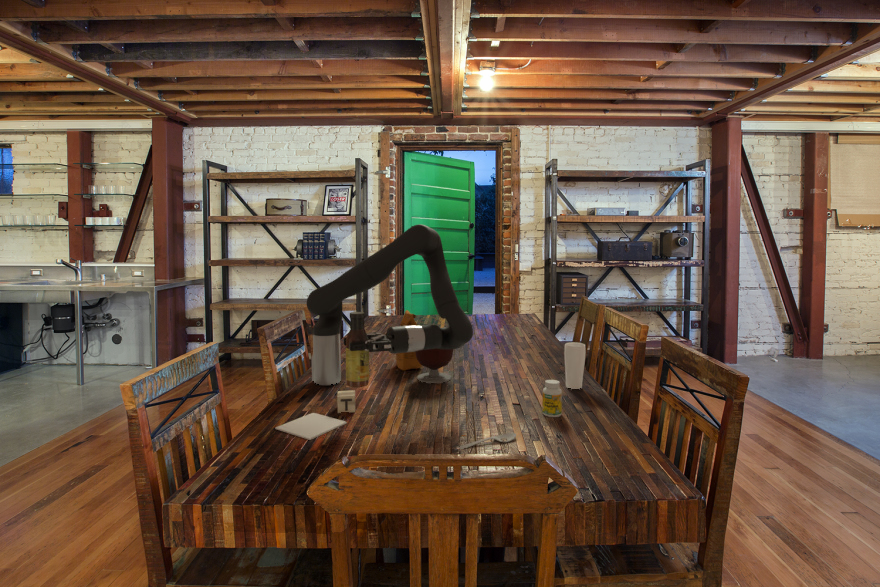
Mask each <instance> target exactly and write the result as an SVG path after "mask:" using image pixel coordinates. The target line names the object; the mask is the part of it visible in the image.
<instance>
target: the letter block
mask: <svg viewBox="0 0 880 587" xmlns="http://www.w3.org/2000/svg"><path fill="white" fill-rule="evenodd" d="M336 398H337V399H336V400H337V414H342V413H341V412H349V413H356V390H355V389H354V390H353V389H352V390H339V391H337V397H336Z"/></svg>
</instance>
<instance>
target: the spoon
mask: <svg viewBox="0 0 880 587" xmlns="http://www.w3.org/2000/svg"><path fill="white" fill-rule="evenodd" d="M516 437H517V433H516V432H507V433H503V434H497V435H493V436H490V437H486V438H483V439H480V440H476V441H473V442H470V443H465V444H462V445H459V446H460V447H458V446H456V447H457V448H460V449H462V450H465V449H464V448H466V449H467V448H468V449H469V448H470V447H472V446H475V445H477V444H481V443H483V442H487V441H489V440H495V441H498V442H500V443H509V442H511V441H513V440H515V439H516ZM502 439H506V440H505V441H504V440H502Z"/></svg>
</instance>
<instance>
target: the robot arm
mask: <svg viewBox="0 0 880 587" xmlns="http://www.w3.org/2000/svg"><path fill="white" fill-rule="evenodd" d="M442 242H443V241H442V238H441V236H440V234H439V233H438V232H437V231H436V230H435V229H433V228H432V227H429V226H427V225H425V224H420V223H419V224H415V225H412V226H410V227H409V228H407V230H405V231H404V232H402V233H401V234H400V235H398V236H397V237H396V238H395V239H394V240H393V241H391V242H390V243H389V244H387V245H386V246H384V247H382V248H381V249H379V250H378V251H376V252H374V253H372V254H371V255H369V256H367V257H366V258H364V259H363V260H361V261H359V262H358V263H357V264H356V265H354V266H352V267H351V268H350V269H348V270H347V271H345V272H344V273H342V274H341V275H340V276H339V277H337V278H335V279H333V280H332V281H330V282H329V283H326V284H324V285H322V286H320V287H318V288H316V289H313V290H312V291H311V292H310V293H309V294H308V296H307V299H306V308H307V310H308V311H309V313H311V314H313V315H315V316H318V319H317V322H315V323H314V325H313V326H312V348H313V349H312V350H313V352H312V355H311V382H312V381H314V382H313V383H314V384H315V383H316V384H315V385H317V384H319V385H318V386H332V385H331V384H333V385H337V384H340V383H341V382H342V365H341V327H342V324H343V301H344V300H346V299H349V298H351V297H354V296H356V295H359V294H361V293H364V292H366V291H368V290H371V289H372V288H375V287H376V286H378V285H379V284H381V283H383V282H384V281H385V280H387V279H388V278H389V277H390V276H391V275H392V273H393V271H394V270H395V269H396V267H398V265H399V264H400V263H402V262H403V261H405V260H407V259H409V258H411V257H413V256H416V255H418V256H420V257H421V258H422V259H423V262H424V263H425V265H426V266H427V267H426V268H427V270H428V272H429V274H428V275H429V284H430V293H431V298H432V300H433V304H434V306H435V309H436V312H437V315H438V316H439V317H440V318H441V319H445V320H446V322H447V324H448V326H446V327H445V326H444V327H440V326H438V325H437V324H425V325H423V324H422V325H421V324H420V325H418V324H417V325H418V326H417V325H408V326H400V325H398V326H389V327H388V328H387V329H386V333H385V334H382V333H381V332H376V331H374V332H366V334H367V337H368V340H367V341H364V342H363V341H361V342H350V343H349V350H350V351H359V350H365V351H369V353H378V352H379V353H380V352H389V353H390V354H391V355H394V354H396V353H406V352H415V351H419V350H427V349H435V348H437V349H453V350H455V349H456V350H457V349H459V348H462V347H463V346H464V345H466V344H467V343H468V342H471V341H472V338H473V335H474V329H473V325H472V322H471V321H470V318H469V317H468V316H467V315H466V313H465V311H464V310H463V309H462V307H461V306H460V302H459V299H458V297H457V295H456V291H455V289H454V286H453V283H452V280H451V278H450V273H449V272H448V267H447V263H446V260H445V258H446V257H445V254H444V248H443V243H442ZM346 337H347V336H345V337H343V343H342V344H343V345H344V346H345V347H346ZM340 381H341V382H340ZM336 383H337V384H336Z"/></svg>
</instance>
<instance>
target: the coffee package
mask: <svg viewBox="0 0 880 587" xmlns="http://www.w3.org/2000/svg"><path fill="white" fill-rule="evenodd" d="M416 318H417V316H416V314H414V313H411V312H410V311H409V310H405V311H404V314H403V317H402V319H401V322H400V323H399V326H408V325H417V326H419V325H418V324H417V322H416V320H415V319H416ZM395 360H396V366H397V369H399V370H401V371H408V370H415V369H420V368H423V366H422V365H421V364H420V363H419V361H418V360H417V358H416V353H415V352H406V353H396V355H395Z"/></svg>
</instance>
